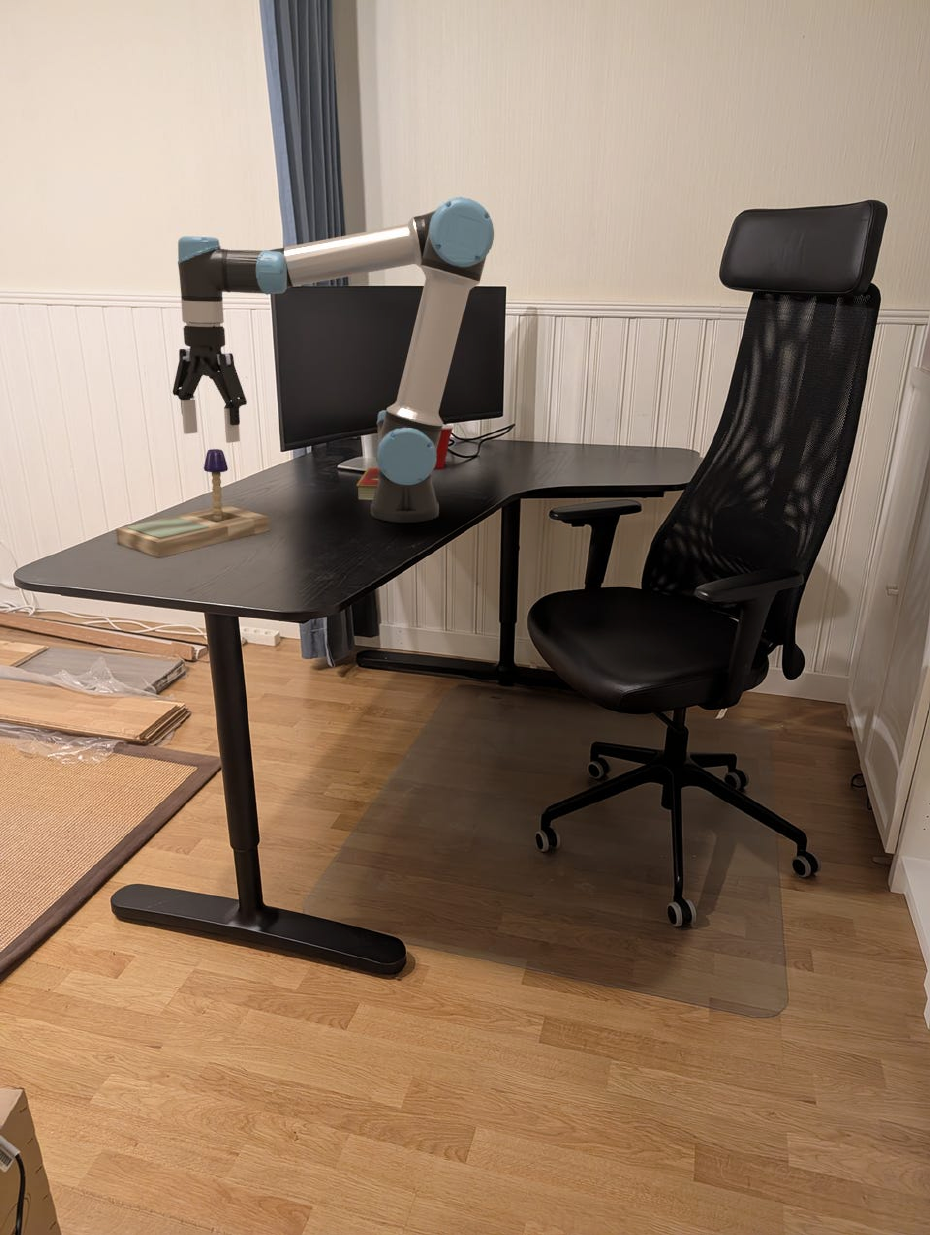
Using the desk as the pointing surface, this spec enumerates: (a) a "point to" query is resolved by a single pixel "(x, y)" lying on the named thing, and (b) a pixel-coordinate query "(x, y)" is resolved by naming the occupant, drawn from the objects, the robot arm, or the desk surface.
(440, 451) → the plastic cup
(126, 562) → the desk surface
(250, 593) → the desk surface
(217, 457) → the toy lamp
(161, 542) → the light wooden flat block
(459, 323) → the robot arm
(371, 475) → the hardcover book
